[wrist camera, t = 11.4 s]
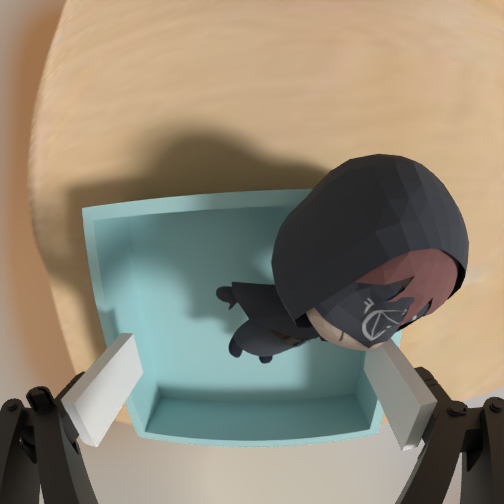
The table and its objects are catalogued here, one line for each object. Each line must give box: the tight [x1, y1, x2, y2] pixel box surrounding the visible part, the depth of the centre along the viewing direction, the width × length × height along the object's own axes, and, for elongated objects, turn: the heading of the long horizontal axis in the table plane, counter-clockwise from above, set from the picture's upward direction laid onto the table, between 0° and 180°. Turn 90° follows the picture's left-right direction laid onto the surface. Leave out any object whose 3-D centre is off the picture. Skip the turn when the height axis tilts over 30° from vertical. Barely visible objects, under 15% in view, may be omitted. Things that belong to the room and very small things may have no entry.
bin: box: [82, 189, 402, 447], centre depth 19 cm, size 18×19×6 cm
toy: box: [216, 154, 469, 364], centre depth 14 cm, size 9×8×15 cm
